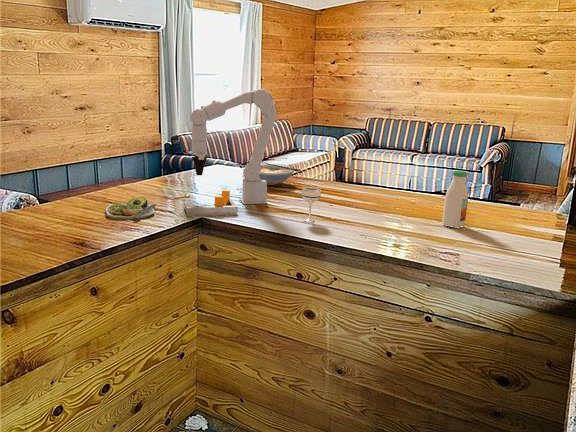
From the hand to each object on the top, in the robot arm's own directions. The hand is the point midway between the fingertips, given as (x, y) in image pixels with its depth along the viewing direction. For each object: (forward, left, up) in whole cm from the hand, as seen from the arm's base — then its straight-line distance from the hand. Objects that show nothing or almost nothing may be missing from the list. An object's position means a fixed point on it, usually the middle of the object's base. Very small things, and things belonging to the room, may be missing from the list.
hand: (199, 175), depth 207 cm
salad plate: (+26, +17, -10) cm, 33 cm away
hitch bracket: (-2, +18, -10) cm, 21 cm away
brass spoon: (+7, -4, -10) cm, 13 cm away
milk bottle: (-85, +48, -10) cm, 98 cm away
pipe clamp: (-6, +16, -10) cm, 20 cm away
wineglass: (-35, +35, -10) cm, 51 cm away
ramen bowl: (-35, -26, -10) cm, 45 cm away
